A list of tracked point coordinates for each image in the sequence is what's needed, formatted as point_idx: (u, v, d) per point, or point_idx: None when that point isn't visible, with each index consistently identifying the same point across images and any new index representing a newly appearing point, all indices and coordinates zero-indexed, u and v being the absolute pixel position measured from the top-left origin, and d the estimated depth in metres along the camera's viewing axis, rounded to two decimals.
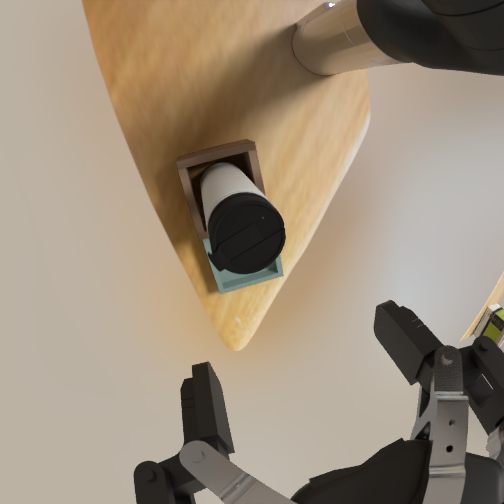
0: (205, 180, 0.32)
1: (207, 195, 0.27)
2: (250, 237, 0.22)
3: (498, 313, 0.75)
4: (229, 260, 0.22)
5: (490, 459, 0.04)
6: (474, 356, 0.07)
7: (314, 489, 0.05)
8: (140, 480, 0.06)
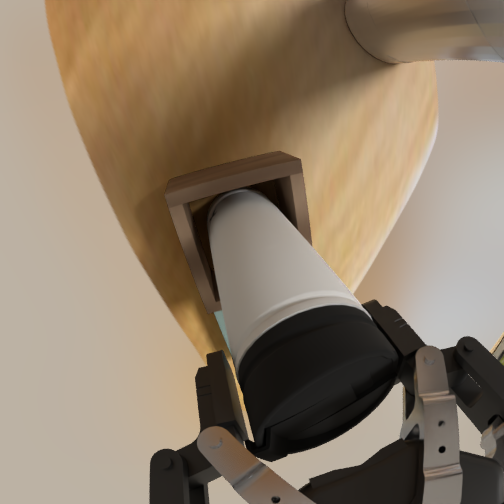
0: (217, 225, 0.19)
1: (227, 275, 0.14)
2: (335, 403, 0.09)
3: None
4: (286, 439, 0.09)
5: (490, 459, 0.04)
6: (459, 358, 0.08)
7: (314, 489, 0.05)
8: (156, 467, 0.06)
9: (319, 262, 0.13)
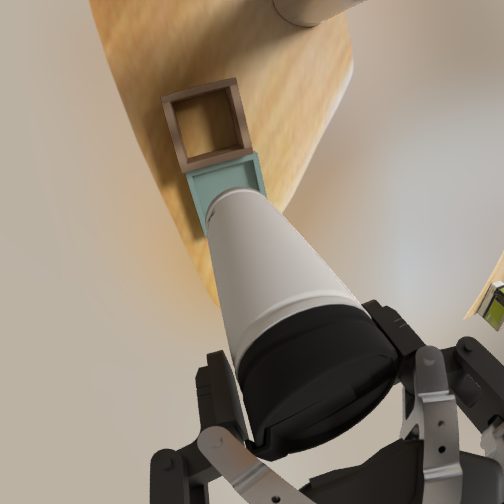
0: (215, 225, 0.19)
1: (226, 274, 0.14)
2: (335, 403, 0.09)
3: (502, 290, 0.72)
4: (286, 438, 0.09)
5: (490, 459, 0.04)
6: (458, 358, 0.08)
7: (314, 489, 0.05)
8: (157, 467, 0.06)
9: (318, 261, 0.13)
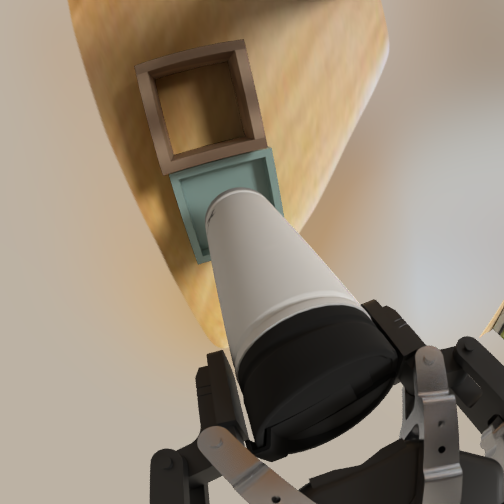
0: (215, 226, 0.19)
1: (226, 275, 0.14)
2: (335, 403, 0.09)
3: None
4: (287, 439, 0.09)
5: (490, 459, 0.04)
6: (458, 358, 0.08)
7: (314, 489, 0.05)
8: (157, 467, 0.06)
9: (318, 262, 0.13)
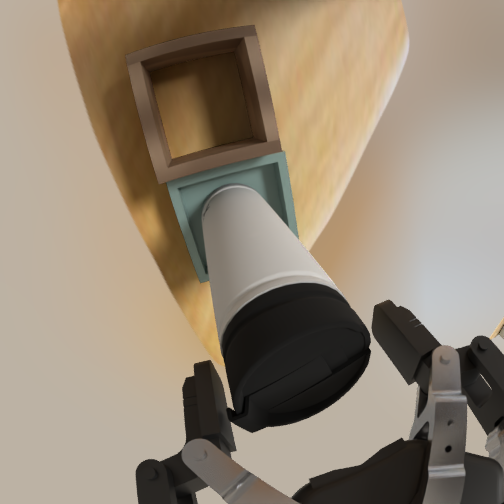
0: (209, 219, 0.21)
1: (215, 261, 0.15)
2: (310, 375, 0.10)
3: None
4: (267, 410, 0.10)
5: (490, 459, 0.04)
6: (472, 356, 0.07)
7: (314, 489, 0.05)
8: (142, 478, 0.06)
9: (298, 248, 0.14)
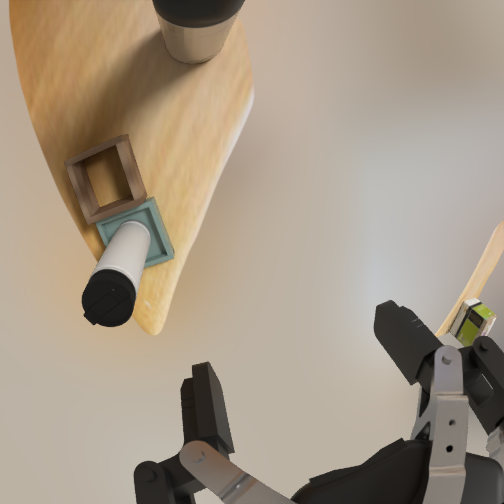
0: None
1: None
2: (108, 302, 0.27)
3: (476, 308, 0.74)
4: (99, 317, 0.27)
5: (490, 459, 0.04)
6: (474, 356, 0.07)
7: (314, 489, 0.05)
8: (140, 480, 0.06)
9: (121, 256, 0.31)
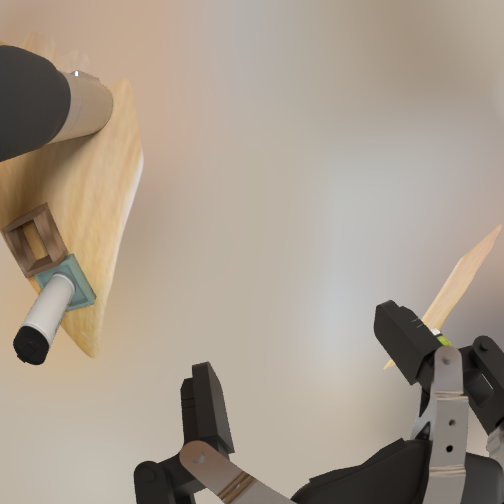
0: None
1: None
2: (30, 349, 0.30)
3: None
4: (27, 357, 0.30)
5: (490, 459, 0.04)
6: (474, 356, 0.07)
7: (314, 489, 0.05)
8: (140, 480, 0.06)
9: (39, 313, 0.34)
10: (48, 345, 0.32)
